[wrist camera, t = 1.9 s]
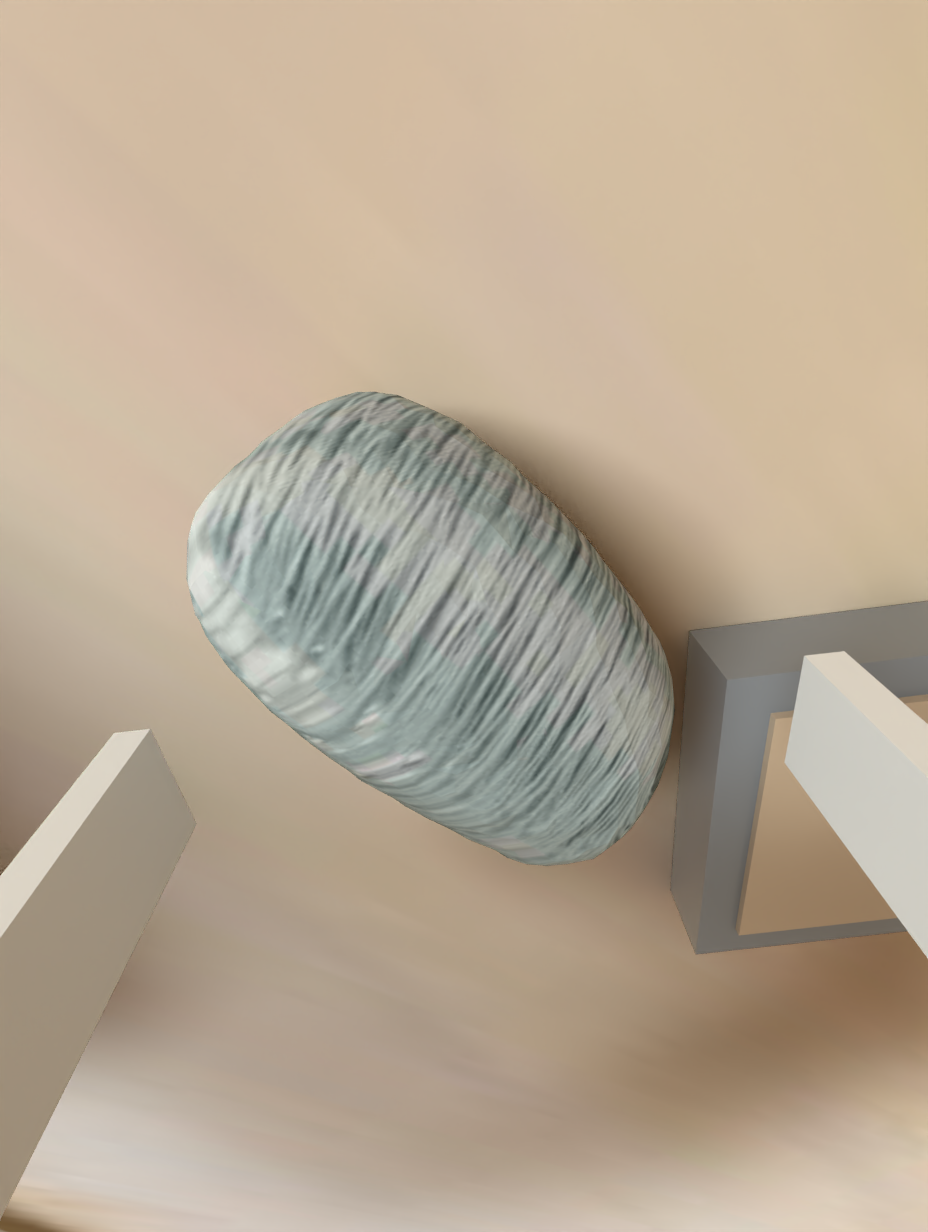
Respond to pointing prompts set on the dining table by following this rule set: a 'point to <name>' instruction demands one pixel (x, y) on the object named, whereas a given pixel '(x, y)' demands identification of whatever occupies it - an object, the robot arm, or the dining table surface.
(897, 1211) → the dining table surface
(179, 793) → the robot arm
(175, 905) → the dining table surface
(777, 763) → the stand
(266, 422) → the dining table surface
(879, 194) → the dining table surface
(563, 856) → the grey streaked ellipsoid
